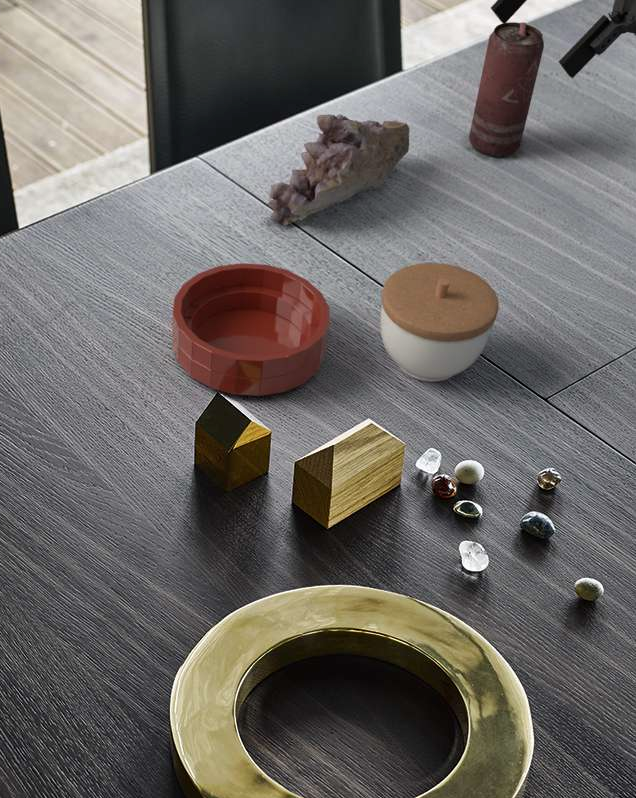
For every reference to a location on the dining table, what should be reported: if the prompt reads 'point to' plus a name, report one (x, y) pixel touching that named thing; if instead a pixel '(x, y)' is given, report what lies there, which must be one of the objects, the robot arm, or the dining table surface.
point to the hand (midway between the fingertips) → (530, 42)
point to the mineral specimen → (340, 165)
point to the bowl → (250, 329)
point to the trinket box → (436, 319)
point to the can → (506, 89)
